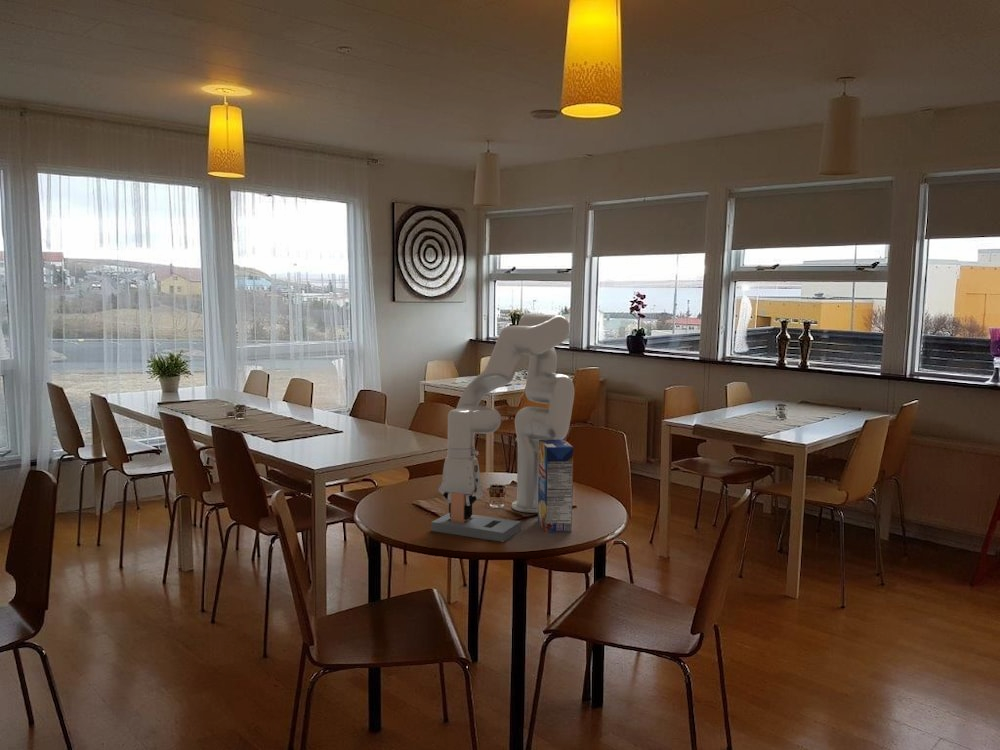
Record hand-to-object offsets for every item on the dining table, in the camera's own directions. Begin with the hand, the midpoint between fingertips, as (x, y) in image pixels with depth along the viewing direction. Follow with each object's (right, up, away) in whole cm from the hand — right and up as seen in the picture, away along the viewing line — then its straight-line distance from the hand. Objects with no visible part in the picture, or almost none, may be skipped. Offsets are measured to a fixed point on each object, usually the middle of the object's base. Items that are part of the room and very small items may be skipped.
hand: (460, 516), depth 215 cm
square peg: (0, -2, 0) cm, 2 cm away
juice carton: (+27, -4, +3) cm, 27 cm away
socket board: (+4, -3, -2) cm, 6 cm away
